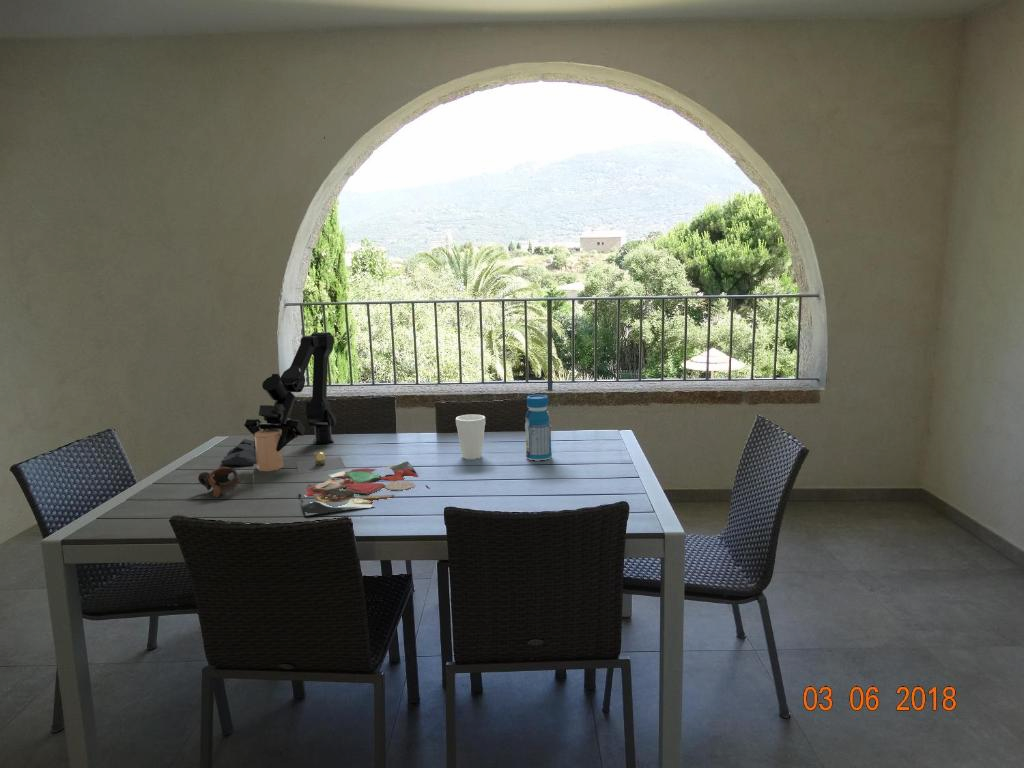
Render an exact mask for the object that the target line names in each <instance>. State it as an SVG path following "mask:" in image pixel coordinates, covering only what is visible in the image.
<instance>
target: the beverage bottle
mask: <svg viewBox="0 0 1024 768" xmlns="http://www.w3.org/2000/svg"><path fill="white" fill-rule="evenodd" d="M526 407H527V408H528V410H527V411H526V412H525V413H526V414H525V417H524V419H525V424H524V430H525V449H526V450H525V455H526V456H525V457H526V459H527V460H529V461H532V460H535V461H534V462H541V461H540V460H545V461H548V460H550V459H552V456H553V455H552V454H553V453H552V426H553V425H552V423H551V419H552V416H551V414H550V412H549V410H548V409H547V408H548V407H549V397H548V395H547V394H530V395H528V396H526ZM547 459H548V460H547Z"/></svg>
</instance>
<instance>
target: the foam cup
mask: <svg viewBox="0 0 1024 768" xmlns="http://www.w3.org/2000/svg"><path fill="white" fill-rule="evenodd" d="M455 426H456V429H457V435H458V441H459V445H460V446H459V447H460V452H461V456H462V457H461V458H463V459H464V458H465V459H464V460H477V459H476V458H478V459H481V458H482V457H483V449H484V448H483V446H484V437H485V426H486V416H485V415H483V414H482V415H481V414H462V415H459V416H456V418H455ZM481 456H482V457H481ZM480 457H481V458H480Z"/></svg>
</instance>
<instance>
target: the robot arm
mask: <svg viewBox="0 0 1024 768" xmlns="http://www.w3.org/2000/svg"><path fill="white" fill-rule="evenodd" d="M334 344H335V337H334V335H332V333H331V332H329V331H328V332H323V331H322V332H317V331H315V332H311V334H310V335H304V336H302V337H301V338H300V344H299V345H298V348H297V351H296V353H295V356H294V357H293V360H292V362H291V365H290V367H289V368H287V369H285V371H283V372H282V374H281V376H280V374H278V373H271V376H269V377H266V379H265V380H264V381H263V382H262V386H261V387H262V388H263V390H264V391H265V392H266V393H267V395H268V396H269V398H270V399H271V400H272V401H274V403H273V405H269V404H268V405H267V404H266V405H263V404H262V405H259V409H258V410H259V411H258V416H260V417H263V420H264V421H265V422H262V421H261V420H260V419H259V418H248V419H246V420H245V422H244V424H243V426H244V427H245V428H246V429H247V430H248V432H250V434H252V435H253V437H254V436H255V433H256V432H258V431H262V430H279V431H281V433H280V434H281V437H280V440H279V442H278V445H277V449H276V450H277V451H280V450H281V449H282V450H283V449H284V447H286V445H288V443H290V442H291V441H293V440H294V439H297V438H298V437H303V436H304V435H305V432H306V428H305V426H304V425H303V423H302V422H301V420H299V419H292V415H291V411H292V409H293V406H294V405H297V404H299V402H298V399H297V397H296V395H294V394H293V393H301V392H302V391H303V390H304V387H305V384H306V377H305V373H306V370H307V367H308V366H309V363H310V361H311V358H312V356H313V365H312V366H313V367H312V368H313V371H312V392H311V393H312V394H311V399H310V400H309V401H307V402H306V404H305V418H306V421H307V424H308V426H309V427H314V438H313V442H315V443H314V444H315V445H321V444H322V443H323V444H330V443H329V442H332V443H334V442H335V441H334V439H333V437H332V426H334V427H335V426H336V425H337V417H336V416H335V414H334V413H333V411H332V406H331V405H332V404H330V401H329V400H328V397H327V393H328V392H327V391H328V389H327V388H328V367H329V366H328V365H329V357H330V356H331V354H332V352H333V350H334ZM253 441H254V450H255V440H254V439H253ZM255 451H256V450H255Z"/></svg>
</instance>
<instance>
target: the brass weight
mask: <svg viewBox="0 0 1024 768" xmlns="http://www.w3.org/2000/svg"><path fill="white" fill-rule="evenodd" d="M325 455H326V454H325V451H315V452H314V460H315V464H316V466H324V465H325V459H326V457H325Z"/></svg>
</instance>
